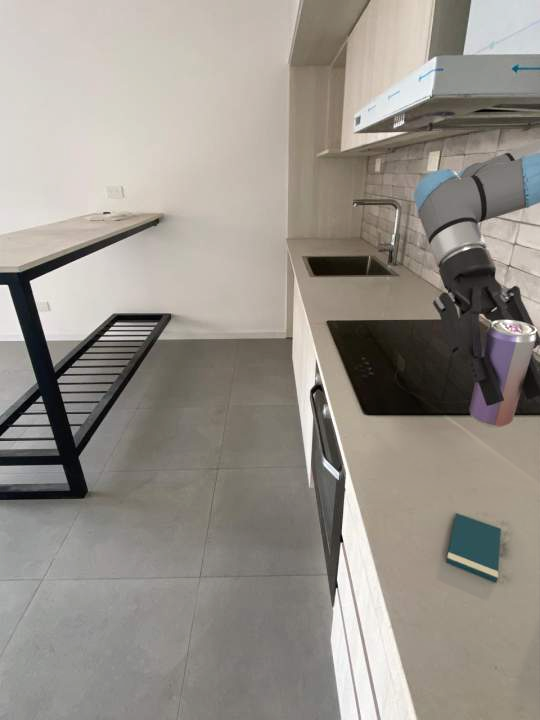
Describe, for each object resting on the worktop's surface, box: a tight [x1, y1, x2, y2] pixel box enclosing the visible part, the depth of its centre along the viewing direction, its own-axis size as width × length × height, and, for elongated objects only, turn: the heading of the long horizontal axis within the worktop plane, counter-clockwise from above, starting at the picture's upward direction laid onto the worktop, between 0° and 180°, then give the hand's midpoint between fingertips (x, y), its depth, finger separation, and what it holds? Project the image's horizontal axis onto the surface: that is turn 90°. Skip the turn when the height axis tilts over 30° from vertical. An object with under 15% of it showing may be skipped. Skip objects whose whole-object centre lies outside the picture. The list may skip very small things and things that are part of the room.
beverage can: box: [468, 320, 538, 428], centre depth 58 cm, size 6×6×15 cm
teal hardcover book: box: [445, 512, 502, 584], centre depth 55 cm, size 9×6×1 cm, turn 150°
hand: (516, 399), depth 55 cm, fingers closed on beverage can, 6 cm apart
